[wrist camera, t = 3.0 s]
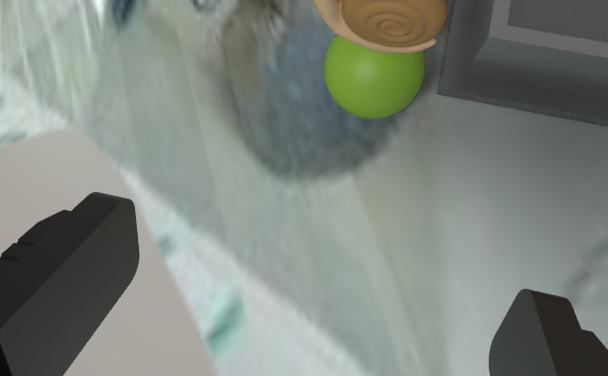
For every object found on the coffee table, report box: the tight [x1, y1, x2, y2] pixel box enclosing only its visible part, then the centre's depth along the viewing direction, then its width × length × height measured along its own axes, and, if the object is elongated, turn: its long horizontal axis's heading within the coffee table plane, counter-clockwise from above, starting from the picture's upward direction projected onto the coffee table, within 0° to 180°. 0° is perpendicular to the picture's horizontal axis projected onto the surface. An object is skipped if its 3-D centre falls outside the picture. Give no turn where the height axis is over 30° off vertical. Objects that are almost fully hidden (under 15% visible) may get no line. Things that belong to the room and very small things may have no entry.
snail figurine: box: [314, 0, 448, 119], centre depth 22 cm, size 5×6×12 cm
